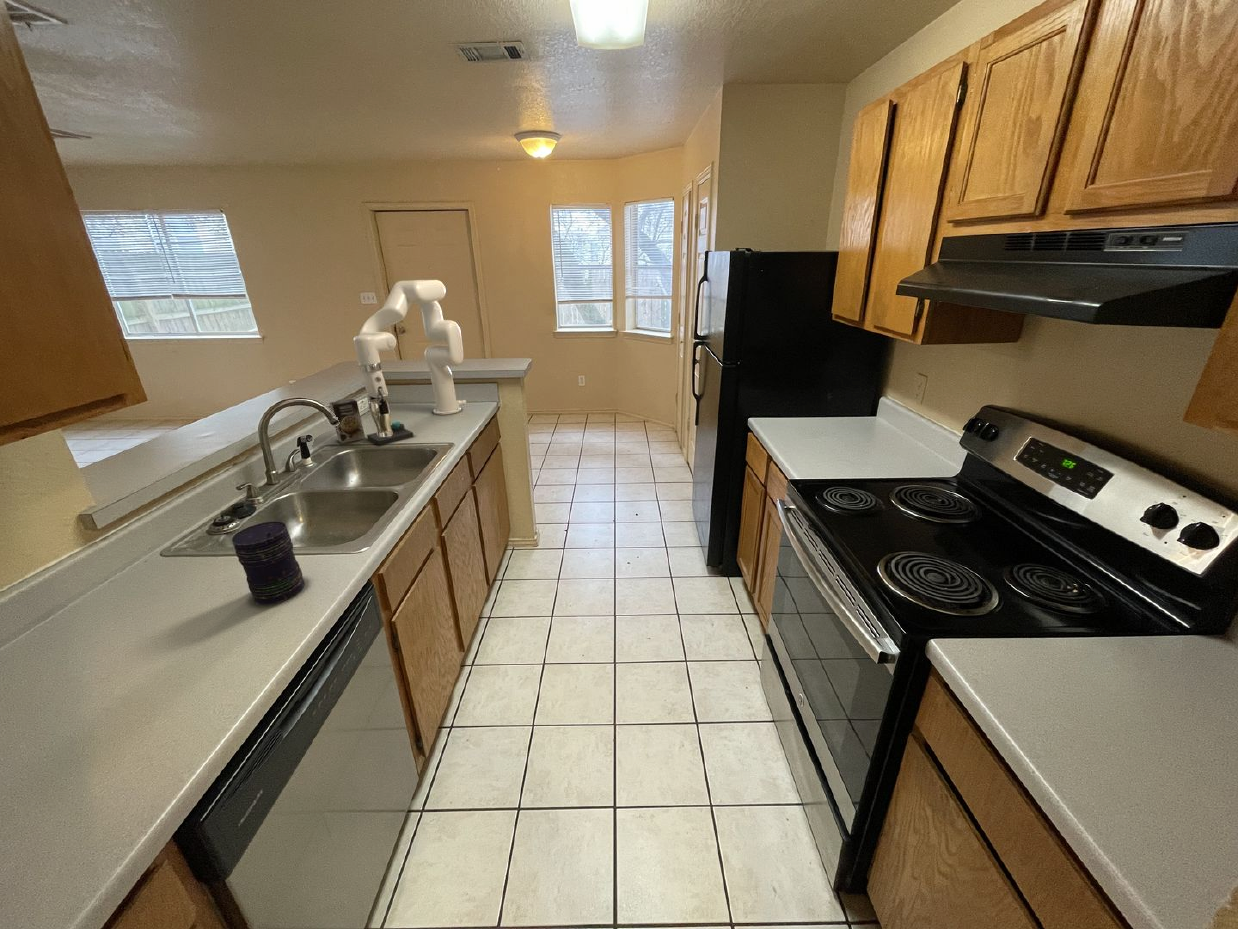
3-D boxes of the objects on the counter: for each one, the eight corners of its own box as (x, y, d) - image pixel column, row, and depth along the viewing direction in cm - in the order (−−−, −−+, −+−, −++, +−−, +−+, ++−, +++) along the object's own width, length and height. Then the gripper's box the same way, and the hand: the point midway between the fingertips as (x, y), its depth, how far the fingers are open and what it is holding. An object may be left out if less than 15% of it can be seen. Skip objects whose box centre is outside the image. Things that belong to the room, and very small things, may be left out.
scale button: (398, 424, 215) (397, 421, 214) (401, 426, 213) (400, 422, 212) (391, 426, 213) (390, 423, 213) (394, 428, 211) (393, 424, 211)
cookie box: (342, 444, 204) (332, 405, 198) (338, 440, 208) (328, 402, 202) (366, 438, 209) (357, 400, 203) (361, 435, 214) (352, 397, 208)
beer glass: (372, 438, 203) (364, 402, 198) (384, 432, 209) (377, 397, 204) (387, 439, 201) (378, 402, 196) (398, 433, 208) (391, 398, 202)
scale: (401, 430, 218) (400, 422, 217) (414, 436, 210) (413, 428, 209) (367, 439, 209) (365, 430, 207) (379, 445, 201) (377, 437, 199)
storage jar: (242, 599, 110) (219, 540, 104) (285, 574, 118) (265, 518, 112) (274, 609, 106) (252, 548, 100) (315, 583, 115) (297, 525, 109)
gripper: (389, 369, 192) (399, 413, 198) (371, 363, 203) (381, 406, 210) (369, 372, 187) (379, 418, 193) (352, 367, 198) (362, 410, 205)
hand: (380, 411), depth 201 cm, fingers open, 7 cm apart
